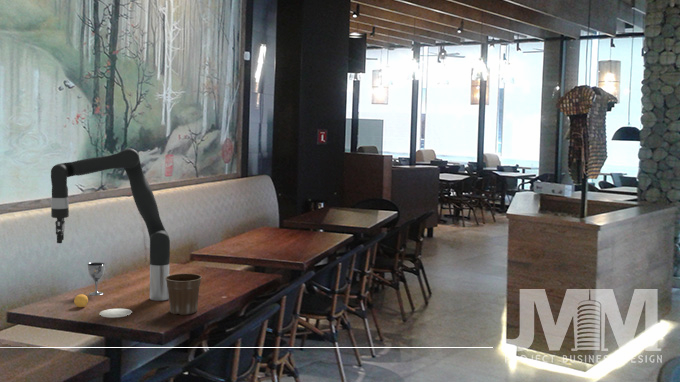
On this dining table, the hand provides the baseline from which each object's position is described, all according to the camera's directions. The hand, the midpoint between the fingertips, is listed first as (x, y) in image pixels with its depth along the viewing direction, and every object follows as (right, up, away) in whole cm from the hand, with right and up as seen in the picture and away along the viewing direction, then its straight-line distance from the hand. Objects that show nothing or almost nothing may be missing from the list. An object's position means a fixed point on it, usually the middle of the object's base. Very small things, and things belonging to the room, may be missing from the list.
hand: (60, 241), depth 327 cm
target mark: (+30, -31, -12) cm, 45 cm away
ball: (+11, -27, -4) cm, 29 cm away
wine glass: (+10, -28, +21) cm, 36 cm away
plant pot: (+59, -32, -6) cm, 67 cm away
